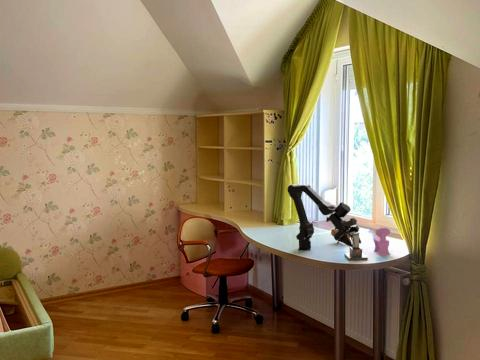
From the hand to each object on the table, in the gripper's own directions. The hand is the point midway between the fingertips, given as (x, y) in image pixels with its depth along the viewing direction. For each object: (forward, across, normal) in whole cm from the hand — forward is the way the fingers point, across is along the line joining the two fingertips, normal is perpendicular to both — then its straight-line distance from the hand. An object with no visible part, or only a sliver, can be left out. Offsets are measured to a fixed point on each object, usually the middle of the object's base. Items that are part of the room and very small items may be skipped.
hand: (356, 244), depth 251 cm
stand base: (+5, 0, +6) cm, 7 cm away
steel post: (+4, 0, +4) cm, 6 cm away
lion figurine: (-11, +24, +22) cm, 35 cm away
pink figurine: (+9, +18, +1) cm, 20 cm away
